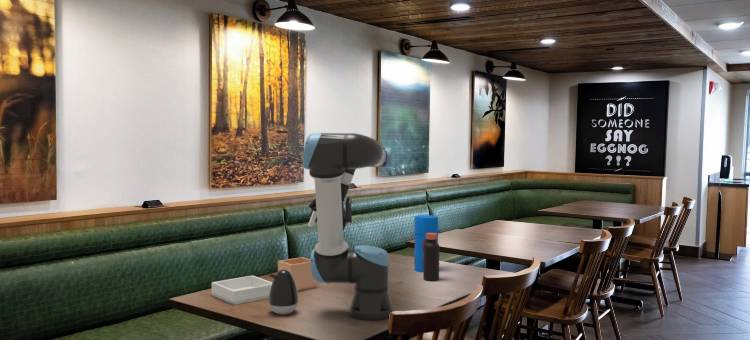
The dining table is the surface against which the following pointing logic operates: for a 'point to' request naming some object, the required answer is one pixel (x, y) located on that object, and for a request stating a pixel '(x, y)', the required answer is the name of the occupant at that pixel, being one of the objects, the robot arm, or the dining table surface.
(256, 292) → the white tray
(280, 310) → the pump dispenser
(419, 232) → the thermos
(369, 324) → the dining table surface
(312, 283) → the terracotta crate
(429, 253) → the bottle
